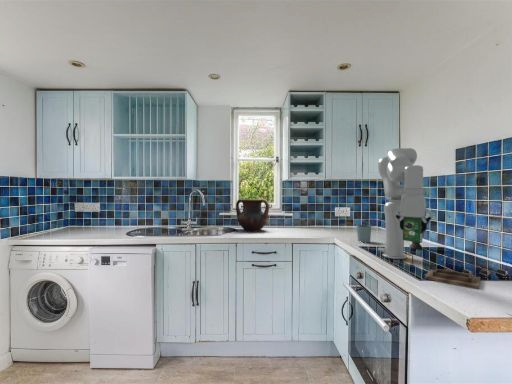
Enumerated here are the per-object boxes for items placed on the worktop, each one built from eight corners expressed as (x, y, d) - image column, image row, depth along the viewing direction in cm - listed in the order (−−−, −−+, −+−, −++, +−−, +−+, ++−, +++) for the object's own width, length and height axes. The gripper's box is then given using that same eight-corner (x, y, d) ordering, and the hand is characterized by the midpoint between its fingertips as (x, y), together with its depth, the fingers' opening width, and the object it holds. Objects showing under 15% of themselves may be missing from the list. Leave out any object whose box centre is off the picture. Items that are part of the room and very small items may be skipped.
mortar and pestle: (422, 246, 188) (423, 217, 188) (431, 249, 179) (431, 218, 179) (406, 246, 188) (406, 217, 188) (413, 249, 179) (414, 218, 179)
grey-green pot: (373, 241, 205) (373, 225, 205) (368, 243, 198) (368, 226, 198) (359, 240, 212) (359, 224, 212) (354, 242, 205) (354, 225, 205)
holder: (424, 279, 119) (424, 272, 119) (430, 271, 129) (430, 266, 129) (478, 289, 107) (478, 282, 107) (480, 280, 117) (480, 273, 117)
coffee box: (423, 242, 126) (424, 213, 125) (420, 243, 124) (421, 213, 124) (405, 239, 132) (405, 212, 132) (402, 240, 131) (402, 212, 130)
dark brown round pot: (270, 229, 270) (271, 198, 270) (267, 233, 243) (268, 199, 242) (238, 228, 275) (238, 197, 275) (231, 232, 247) (231, 198, 247)
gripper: (390, 192, 131) (390, 229, 131) (434, 192, 119) (433, 233, 120) (395, 192, 136) (394, 227, 137) (437, 192, 125) (436, 231, 125)
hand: (412, 230), depth 128 cm, fingers closed on coffee box, 8 cm apart
